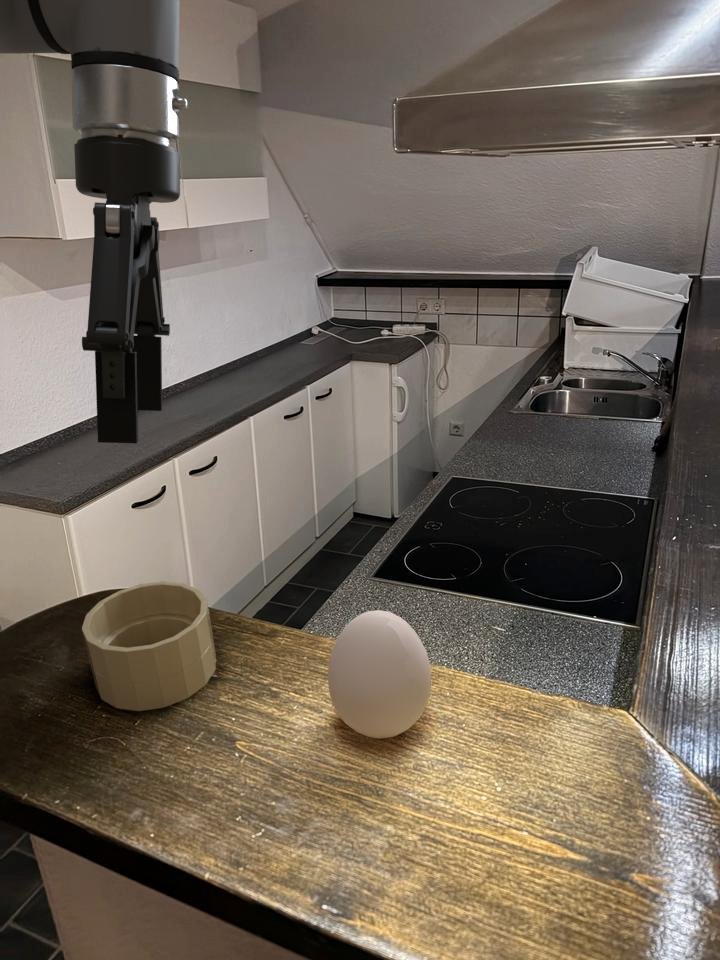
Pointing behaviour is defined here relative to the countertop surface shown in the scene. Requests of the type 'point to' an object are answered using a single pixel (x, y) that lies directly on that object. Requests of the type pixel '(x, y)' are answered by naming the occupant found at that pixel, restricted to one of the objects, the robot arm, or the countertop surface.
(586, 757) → the countertop surface
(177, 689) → the ring
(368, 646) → the egg
